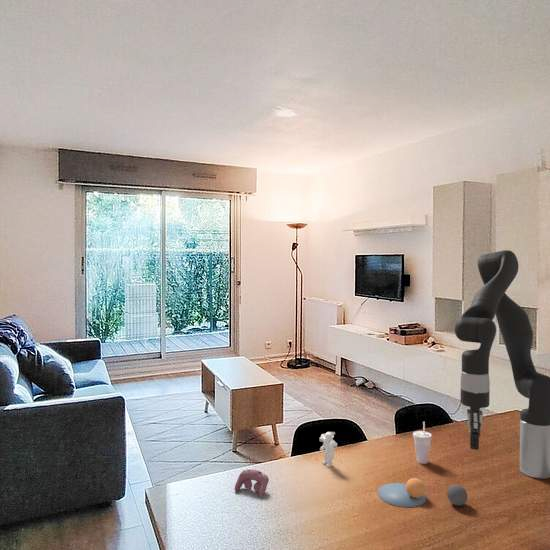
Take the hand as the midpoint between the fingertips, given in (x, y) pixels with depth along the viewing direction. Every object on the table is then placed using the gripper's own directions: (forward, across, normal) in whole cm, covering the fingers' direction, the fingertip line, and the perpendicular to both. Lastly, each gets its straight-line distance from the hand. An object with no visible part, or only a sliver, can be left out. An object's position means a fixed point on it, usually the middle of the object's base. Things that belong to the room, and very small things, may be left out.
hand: (474, 448), depth 130 cm
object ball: (+14, 0, -16) cm, 21 cm away
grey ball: (+14, 0, -4) cm, 15 cm away
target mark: (+17, 0, -20) cm, 26 cm away
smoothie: (+17, -27, -16) cm, 35 cm away
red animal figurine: (+17, +13, -63) cm, 67 cm away
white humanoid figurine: (+17, -13, -46) cm, 51 cm away
